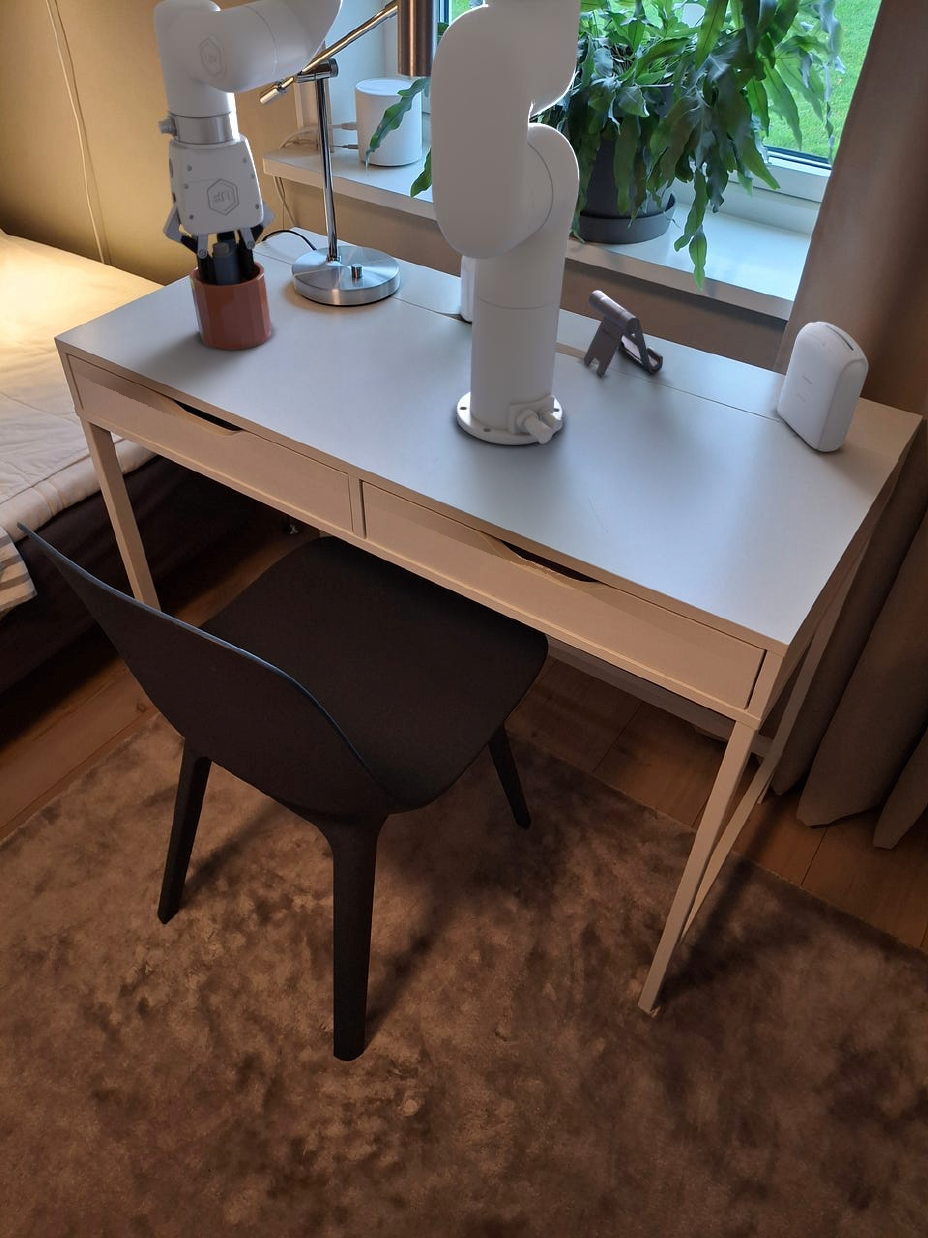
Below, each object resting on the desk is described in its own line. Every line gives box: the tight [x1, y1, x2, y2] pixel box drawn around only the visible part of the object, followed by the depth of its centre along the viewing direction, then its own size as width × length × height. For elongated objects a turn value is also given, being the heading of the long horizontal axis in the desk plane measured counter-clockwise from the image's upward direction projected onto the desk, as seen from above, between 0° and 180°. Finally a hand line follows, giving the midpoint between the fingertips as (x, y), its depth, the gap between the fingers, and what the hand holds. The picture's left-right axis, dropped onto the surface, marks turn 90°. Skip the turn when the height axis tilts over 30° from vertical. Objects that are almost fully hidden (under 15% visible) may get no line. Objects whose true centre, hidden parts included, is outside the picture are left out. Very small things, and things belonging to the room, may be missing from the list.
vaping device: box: [211, 230, 242, 286], centre depth 118 cm, size 3×5×12 cm, turn 174°
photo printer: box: [777, 321, 869, 452], centre depth 106 cm, size 10×4×12 cm, turn 14°
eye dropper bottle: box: [459, 255, 475, 322], centre depth 127 cm, size 4×6×12 cm
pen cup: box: [189, 260, 273, 351], centre depth 122 cm, size 9×9×8 cm
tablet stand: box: [583, 290, 664, 377], centre depth 118 cm, size 9×8×8 cm
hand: (228, 279), depth 120 cm, fingers closed on vaping device, 4 cm apart
